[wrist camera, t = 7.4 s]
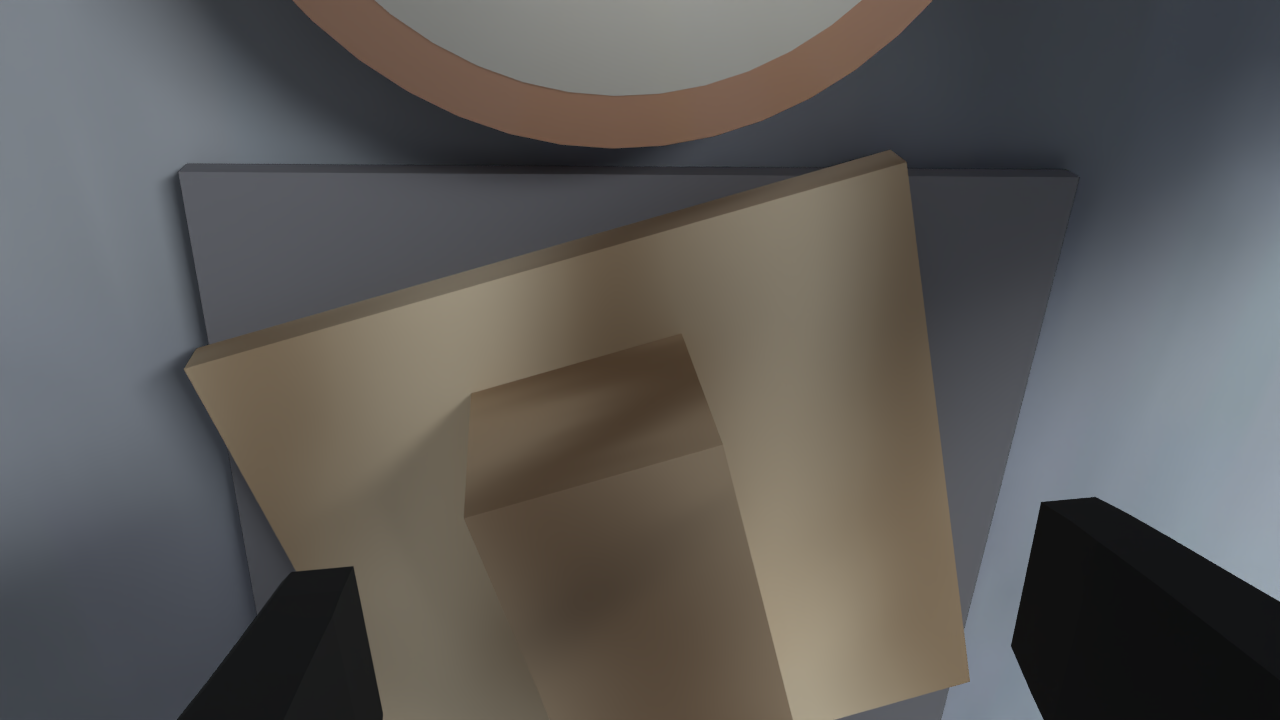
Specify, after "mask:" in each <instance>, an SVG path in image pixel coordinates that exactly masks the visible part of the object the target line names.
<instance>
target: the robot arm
mask: <svg viewBox="0 0 1280 720" xmlns="http://www.w3.org/2000/svg"><path fill="white" fill-rule="evenodd" d="M1011 647H1012V649H1013V652H1014V654H1015V656H1016V659H1017V661H1018V663H1019V666H1020V668H1021V670H1022V673H1023V675H1024V677H1025V680H1026V682H1027V684H1028V687H1029V689H1030V691H1031V694H1032V696H1033V698H1034V700H1035V702H1036V704H1037V706H1038V708H1039V711H1040V713H1041V715H1042V717H1043V719H1044V720H1280V602H1279V601H1278V600H1276V599H1274V598H1273V597H1271V596H1269V595H1267V594H1266V593H1264V592H1262V591H1260V590H1259V589H1257V588H1255V587H1253V586H1252V585H1250V584H1248V583H1247V582H1245V581H1243V580H1241V579H1240V578H1238V577H1236V576H1235V575H1233V574H1231V573H1229V572H1228V571H1226V570H1224V569H1223V568H1221V567H1219V566H1217V565H1216V564H1214V563H1212V562H1211V561H1209V560H1207V559H1206V558H1204V557H1202V556H1200V555H1199V554H1197V553H1195V552H1194V551H1192V550H1190V549H1188V548H1187V547H1185V546H1183V545H1182V544H1180V543H1178V542H1176V541H1175V540H1173V539H1171V538H1170V537H1168V536H1166V535H1164V534H1163V533H1161V532H1159V531H1157V530H1156V529H1154V528H1152V527H1150V526H1149V525H1147V524H1145V523H1143V522H1142V521H1140V520H1138V519H1136V518H1135V517H1133V516H1131V515H1129V514H1127V513H1125V512H1124V511H1122V510H1120V509H1118V508H1116V507H1114V506H1112V505H1110V504H1108V503H1106V502H1104V501H1102V500H1100V499H1098V498H1096V497H1091V498H1080V499H1069V500H1058V501H1048V502H1041V505H1040V510H1039V515H1038V520H1037V524H1036V529H1035V534H1034V539H1033V544H1032V548H1031V553H1030V558H1029V563H1028V567H1027V572H1026V577H1025V582H1024V587H1023V591H1022V596H1021V601H1020V606H1019V610H1018V615H1017V620H1016V625H1015V629H1014V634H1013V639H1012V644H1011ZM177 720H383V710H382V706H381V701H380V696H379V691H378V686H377V681H376V676H375V671H374V666H373V661H372V656H371V651H370V646H369V641H368V636H367V631H366V626H365V621H364V616H363V611H362V606H361V601H360V596H359V591H358V586H357V581H356V576H355V571H354V566H349V567H338V568H328V569H317V570H306V571H295V572H291V573H290V574H289V575H288V576H287V577H286V578H285V579H284V580H283V581H282V582H281V583H280V585H279V586H278V588H277V589H276V590H275V592H274V593H273V594H272V596H271V597H270V598H269V600H268V601H267V602H266V604H265V605H264V607H263V608H262V609H261V611H260V612H259V613H258V615H257V616H256V617H255V619H254V620H253V622H252V623H251V624H250V626H249V627H248V628H247V630H246V631H245V632H244V634H243V635H242V636H241V638H240V639H239V640H238V642H237V643H236V644H235V646H234V647H233V648H232V650H231V651H230V652H229V654H228V655H227V656H226V658H225V659H224V660H223V662H222V663H221V664H220V666H219V667H218V668H217V670H216V671H215V672H214V673H213V675H212V676H211V677H210V679H209V680H208V681H207V683H206V684H205V685H204V686H203V688H202V689H201V690H200V691H199V693H198V694H197V695H196V696H195V698H194V699H193V700H192V701H191V703H190V704H189V705H188V706H187V708H186V709H185V710H184V711H183V713H182V714H181V715H180V716H179V718H178V719H177Z"/></svg>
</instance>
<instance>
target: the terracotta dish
mask: <svg viewBox="0 0 1280 720" xmlns="http://www.w3.org/2000/svg"><path fill="white" fill-rule="evenodd" d="M293 1H294V2H295V3H296V5H297V6H298V7H299V8H300V9H301V10H302V11H303V12H304V13H305V14H306V15H307V16H308V17H309V18H310V19H311V20H312V21H313V22H314V23H315V24H317V25H318V26H319V27H320V28H321V29H323V30H324V31H325V32H326V33H327V34H329V35H330V36H331V37H332V38H333V39H335V40H336V41H337V42H338V43H339V44H341V45H342V46H343V47H344V48H345V49H347V50H348V51H349V52H350V53H351V54H353V55H354V56H355V57H356V58H357V59H359V60H360V61H362V62H363V63H365V64H366V65H368V66H369V67H371V68H372V69H374V70H375V71H377V72H378V73H380V74H382V75H383V76H385V77H386V78H388V79H389V80H391V81H392V82H394V83H395V84H397V85H398V86H400V87H401V88H403V89H405V90H406V91H408V92H410V93H412V94H414V95H416V96H418V97H420V98H422V99H424V100H426V101H428V102H430V103H432V104H434V105H436V106H438V107H440V108H442V109H444V110H446V111H448V112H450V113H452V114H454V115H457V116H459V117H462V118H465V119H467V120H470V121H473V122H476V123H479V124H482V125H485V126H488V127H491V128H494V129H497V130H499V131H502V132H505V133H508V134H512V135H517V136H522V137H527V138H531V139H536V140H541V141H546V142H551V143H556V144H560V145H572V146H586V147H599V148H631V147H649V146H665V145H670V144H676V143H681V142H686V141H692V140H697V139H702V138H708V137H713V136H716V135H720V134H723V133H726V132H729V131H732V130H735V129H738V128H741V127H744V126H747V125H750V124H754V123H757V122H760V121H763V120H765V119H767V118H769V117H771V116H774V115H776V114H778V113H780V112H782V111H784V110H786V109H788V108H791V107H793V106H795V105H797V104H799V103H801V102H803V101H805V100H808V99H810V98H811V97H813V96H815V95H816V94H818V93H819V92H821V91H823V90H824V89H826V88H827V87H829V86H831V85H832V84H834V83H835V82H837V81H839V80H840V79H842V78H843V77H845V76H847V75H848V74H850V73H851V72H853V71H854V70H856V69H857V68H858V67H860V66H861V65H862V64H863V63H865V62H866V61H867V60H868V59H870V58H871V57H872V56H873V55H875V54H876V53H877V52H878V51H880V50H881V49H882V48H883V47H884V46H886V45H887V44H888V43H889V42H891V41H892V40H893V39H894V38H896V37H897V36H898V35H899V34H900V33H901V32H902V31H903V30H904V29H905V28H906V27H907V26H908V25H909V24H910V23H911V22H912V21H913V20H914V19H915V18H916V17H917V16H918V15H919V14H920V13H921V12H922V11H923V10H924V9H925V8H926V7H927V6H928V5H929V4H930V3H931V2H932V1H933V0H293Z"/></svg>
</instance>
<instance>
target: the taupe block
mask: <svg viewBox="0 0 1280 720" xmlns="http://www.w3.org/2000/svg"><path fill="white" fill-rule="evenodd" d="M184 370H185V372H186V374H187V376H188V377H189V379H190V381H191V383H192V385H193V386H194V388H195V390H196V392H197V394H198V395H199V397H200V399H201V401H202V403H203V404H204V406H205V408H206V410H207V412H208V413H209V415H210V417H211V419H212V421H213V422H214V424H215V426H216V428H217V430H218V431H219V433H220V435H221V437H222V439H223V440H224V442H225V444H226V446H227V448H228V449H229V451H230V453H231V455H232V457H233V458H234V460H235V462H236V464H237V466H238V467H239V469H240V471H241V473H242V475H243V476H244V478H245V480H246V482H247V484H248V485H249V487H250V489H251V491H252V493H253V494H254V496H255V498H256V500H257V502H258V503H259V505H260V507H261V509H262V511H263V512H264V514H265V516H266V518H267V520H268V521H269V523H270V525H271V527H272V529H273V530H274V532H275V534H276V536H277V538H278V540H279V541H280V543H281V545H282V547H283V549H284V550H285V552H286V554H287V556H288V558H289V559H290V561H291V563H292V565H293V567H294V568H295V570H296V571H306V570H317V569H328V568H338V567H349V566H354V571H355V576H356V581H357V586H358V591H359V596H360V601H361V606H362V611H363V616H364V621H365V626H366V631H367V636H368V641H369V646H370V651H371V656H372V661H373V666H374V671H375V676H376V681H377V686H378V691H379V696H380V701H381V706H382V710H383V720H836V719H839V718H843V717H846V716H850V715H853V714H857V713H860V712H864V711H867V710H871V709H875V708H878V707H882V706H885V705H889V704H892V703H896V702H899V701H903V700H906V699H910V698H914V697H917V696H921V695H924V694H928V693H931V692H935V691H938V690H942V689H945V688H949V687H953V686H956V685H960V684H963V683H967V682H970V678H969V670H968V662H967V654H966V645H965V637H964V629H963V621H962V612H961V604H960V596H959V588H958V580H957V571H956V563H955V555H954V547H953V539H952V530H951V522H950V514H949V506H948V498H947V489H946V481H945V473H944V465H943V456H942V448H941V440H940V432H939V424H938V415H937V407H936V399H935V391H934V383H933V374H932V366H931V358H930V350H929V342H928V333H927V325H926V317H925V309H924V300H923V292H922V284H921V276H920V268H919V259H918V251H917V243H916V235H915V227H914V218H913V210H912V202H911V194H910V186H909V177H908V169H907V162H906V161H905V160H903V159H902V158H901V157H899V156H898V155H897V154H895V153H894V152H893V151H892V150H887V151H884V152H880V153H877V154H873V155H870V156H866V157H863V158H859V159H856V160H852V161H849V162H845V163H842V164H838V165H835V166H831V167H828V168H824V169H821V170H817V171H814V172H810V173H807V174H803V175H800V176H796V177H793V178H789V179H786V180H782V181H779V182H775V183H772V184H768V185H765V186H761V187H758V188H755V189H751V190H748V191H744V192H741V193H737V194H734V195H730V196H727V197H723V198H720V199H716V200H713V201H709V202H706V203H702V204H699V205H695V206H692V207H688V208H685V209H681V210H678V211H674V212H671V213H667V214H664V215H660V216H657V217H653V218H650V219H646V220H643V221H639V222H636V223H632V224H629V225H625V226H622V227H618V228H615V229H611V230H608V231H604V232H601V233H597V234H594V235H590V236H587V237H583V238H580V239H576V240H573V241H569V242H566V243H562V244H559V245H555V246H552V247H548V248H545V249H541V250H538V251H534V252H531V253H527V254H524V255H520V256H517V257H514V258H510V259H507V260H503V261H500V262H496V263H493V264H489V265H486V266H482V267H479V268H475V269H472V270H468V271H465V272H461V273H458V274H454V275H451V276H447V277H444V278H440V279H437V280H433V281H430V282H426V283H423V284H419V285H416V286H412V287H409V288H405V289H402V290H398V291H395V292H391V293H388V294H384V295H381V296H377V297H374V298H370V299H367V300H363V301H360V302H356V303H353V304H349V305H346V306H342V307H339V308H335V309H332V310H328V311H325V312H321V313H318V314H314V315H311V316H307V317H304V318H300V319H297V320H293V321H290V322H286V323H283V324H280V325H276V326H273V327H269V328H266V329H262V330H259V331H255V332H252V333H248V334H245V335H241V336H238V337H234V338H231V339H227V340H224V341H220V342H217V343H213V344H210V345H206V346H203V347H199V348H196V350H195V352H194V353H193V355H192V356H191V358H190V360H189V361H188V363H187V365H186V366H185V368H184Z"/></svg>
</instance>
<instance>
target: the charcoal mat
mask: <svg viewBox="0 0 1280 720" xmlns="http://www.w3.org/2000/svg"><path fill="white" fill-rule="evenodd" d="M821 169H824V168H759V167H614V166H469V165H324V164H186V165H185V166H184V167H183V168H182V169H181V170H180V171H179V172H178V173H179V179H180V185H181V190H182V196H183V201H184V207H185V213H186V218H187V224H188V230H189V235H190V241H191V246H192V252H193V258H194V263H195V269H196V275H197V280H198V286H199V292H200V297H201V303H202V308H203V314H204V320H205V325H206V331H207V337H208V342H209V345H210V344H213V343H217V342H220V341H224V340H227V339H231V338H234V337H238V336H241V335H245V334H248V333H252V332H255V331H259V330H262V329H266V328H269V327H273V326H276V325H280V324H283V323H286V322H290V321H293V320H297V319H300V318H304V317H307V316H311V315H314V314H318V313H321V312H325V311H328V310H332V309H335V308H339V307H342V306H346V305H349V304H353V303H356V302H360V301H363V300H367V299H370V298H374V297H377V296H381V295H384V294H388V293H391V292H395V291H398V290H402V289H405V288H409V287H412V286H416V285H419V284H423V283H426V282H430V281H433V280H437V279H440V278H444V277H447V276H451V275H454V274H458V273H461V272H465V271H468V270H472V269H475V268H479V267H482V266H486V265H489V264H493V263H496V262H500V261H503V260H507V259H510V258H514V257H517V256H520V255H524V254H527V253H531V252H534V251H538V250H541V249H545V248H548V247H552V246H555V245H559V244H562V243H566V242H569V241H573V240H576V239H580V238H583V237H587V236H590V235H594V234H597V233H601V232H604V231H608V230H611V229H615V228H618V227H622V226H625V225H629V224H632V223H636V222H639V221H643V220H646V219H650V218H653V217H657V216H660V215H664V214H667V213H671V212H674V211H678V210H681V209H685V208H688V207H692V206H695V205H699V204H702V203H706V202H709V201H713V200H716V199H720V198H723V197H727V196H730V195H734V194H737V193H741V192H744V191H748V190H751V189H755V188H758V187H761V186H765V185H768V184H772V183H775V182H779V181H782V180H786V179H789V178H793V177H796V176H800V175H803V174H807V173H810V172H814V171H817V170H821ZM908 177H909V186H910V194H911V202H912V210H913V218H914V227H915V235H916V243H917V251H918V259H919V268H920V276H921V284H922V292H923V300H924V309H925V317H926V325H927V333H928V342H929V350H930V358H931V366H932V374H933V383H934V391H935V399H936V407H937V415H938V424H939V432H940V440H941V448H942V456H943V465H944V473H945V481H946V489H947V498H948V506H949V514H950V522H951V530H952V539H953V547H954V555H955V563H956V571H957V580H958V588H959V596H960V604H961V612H962V621H963V629H964V628H965V624H966V620H967V616H968V612H969V608H970V604H971V601H972V597H973V593H974V589H975V585H976V581H977V577H978V573H979V569H980V565H981V561H982V557H983V554H984V550H985V546H986V542H987V538H988V534H989V530H990V526H991V522H992V518H993V514H994V511H995V507H996V503H997V499H998V495H999V491H1000V487H1001V483H1002V479H1003V475H1004V471H1005V467H1006V464H1007V460H1008V456H1009V452H1010V448H1011V444H1012V440H1013V436H1014V432H1015V428H1016V424H1017V420H1018V417H1019V413H1020V409H1021V405H1022V401H1023V397H1024V393H1025V389H1026V385H1027V381H1028V377H1029V374H1030V370H1031V366H1032V362H1033V358H1034V354H1035V350H1036V346H1037V342H1038V338H1039V334H1040V330H1041V327H1042V323H1043V319H1044V315H1045V311H1046V307H1047V303H1048V299H1049V295H1050V291H1051V287H1052V283H1053V280H1054V276H1055V272H1056V268H1057V264H1058V260H1059V256H1060V252H1061V248H1062V244H1063V240H1064V237H1065V233H1066V229H1067V225H1068V221H1069V217H1070V213H1071V209H1072V205H1073V201H1074V197H1075V193H1076V190H1077V186H1078V182H1079V178H1080V177H1078V176H1076V175H1075V174H1073V173H1071V172H1069V171H1068V170H1050V169H908ZM227 449H228V448H227ZM228 455H229V460H230V466H231V472H232V477H233V483H234V489H235V494H236V500H237V505H238V511H239V517H240V522H241V528H242V534H243V539H244V545H245V550H246V556H247V562H248V567H249V573H250V579H251V584H252V590H253V596H254V601H255V607H256V612H257V615H258V613H259V612H260V611H261V609H262V608H263V607H264V605H265V604H266V602H267V601H268V600H269V598H270V597H271V596H272V594H273V593H274V592H275V590H276V589H277V588H278V586H279V585H280V583H281V582H282V581H283V580H284V579H285V578H286V577H287V576H288V575H289V574H290V573H291V572H295V571H296V570H295V568H294V567H293V565H292V563H291V561H290V559H289V558H288V556H287V554H286V552H285V550H284V549H283V547H282V545H281V543H280V541H279V540H278V538H277V536H276V534H275V532H274V530H273V529H272V527H271V525H270V523H269V521H268V520H267V518H266V516H265V514H264V512H263V511H262V509H261V507H260V505H259V503H258V502H257V500H256V498H255V496H254V494H253V493H252V491H251V489H250V487H249V485H248V484H247V482H246V480H245V478H244V476H243V475H242V473H241V471H240V469H239V467H238V466H237V464H236V462H235V460H234V458H233V457H232V455H231V453H230V451H229V449H228ZM948 691H949V688H945V689H942V690H938V691H935V692H931V693H928V694H924V695H921V696H917V697H914V698H910V699H906V700H903V701H899V702H896V703H892V704H889V705H885V706H882V707H878V708H875V709H871V710H867V711H864V712H860V713H857V714H853V715H850V716H846V717H843V718H839V719H836V720H941V718H942V714H943V710H944V706H945V702H946V698H947V694H948Z"/></svg>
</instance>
